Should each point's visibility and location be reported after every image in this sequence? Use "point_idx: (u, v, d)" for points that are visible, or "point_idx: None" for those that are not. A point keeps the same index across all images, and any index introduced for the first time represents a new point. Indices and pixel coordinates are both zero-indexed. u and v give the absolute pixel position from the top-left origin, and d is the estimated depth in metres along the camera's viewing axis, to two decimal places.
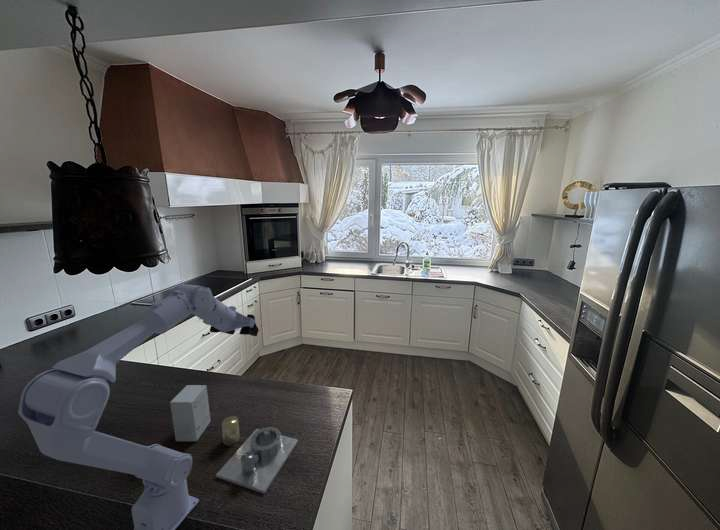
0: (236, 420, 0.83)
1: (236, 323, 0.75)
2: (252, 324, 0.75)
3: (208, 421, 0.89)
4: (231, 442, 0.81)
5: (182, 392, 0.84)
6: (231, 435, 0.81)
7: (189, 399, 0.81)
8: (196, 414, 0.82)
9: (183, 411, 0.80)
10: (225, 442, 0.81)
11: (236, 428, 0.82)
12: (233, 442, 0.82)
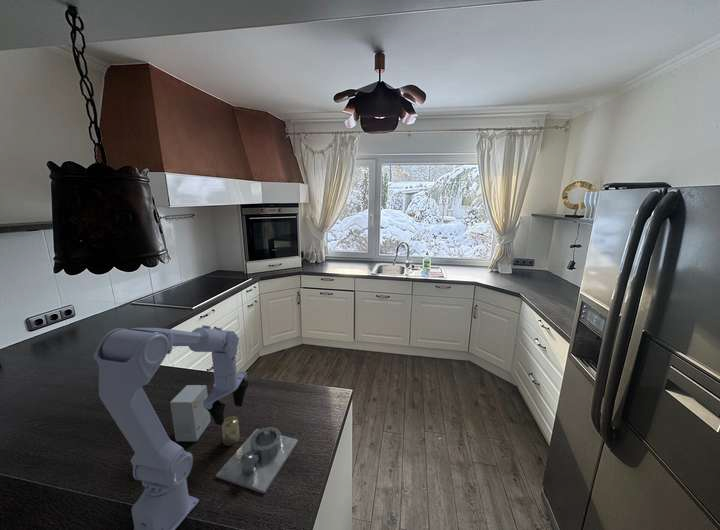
0: (236, 420, 0.83)
1: None
2: None
3: (208, 421, 0.89)
4: (231, 442, 0.81)
5: (182, 392, 0.84)
6: (231, 435, 0.81)
7: (189, 399, 0.81)
8: (196, 414, 0.82)
9: (183, 411, 0.80)
10: (225, 442, 0.81)
11: (236, 428, 0.82)
12: (233, 442, 0.82)
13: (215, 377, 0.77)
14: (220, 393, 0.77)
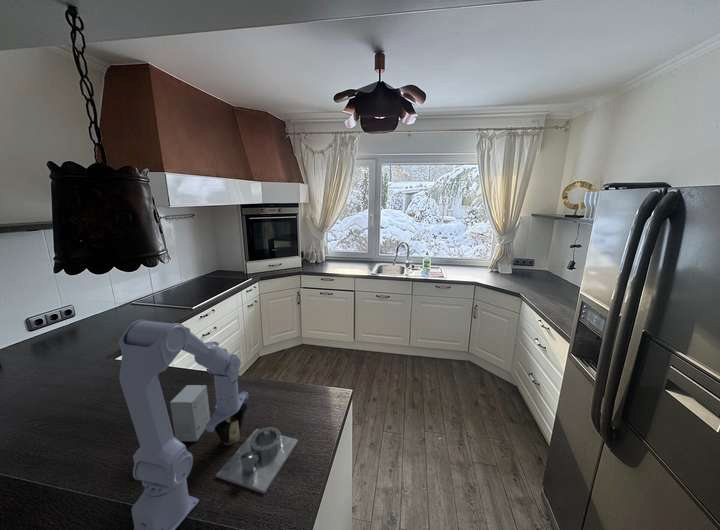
0: (236, 420, 0.83)
1: None
2: None
3: (208, 421, 0.89)
4: (231, 442, 0.81)
5: (182, 392, 0.84)
6: (231, 435, 0.81)
7: (189, 399, 0.81)
8: (196, 414, 0.82)
9: (183, 411, 0.80)
10: None
11: (236, 428, 0.82)
12: (233, 442, 0.82)
13: (217, 400, 0.78)
14: (222, 415, 0.78)
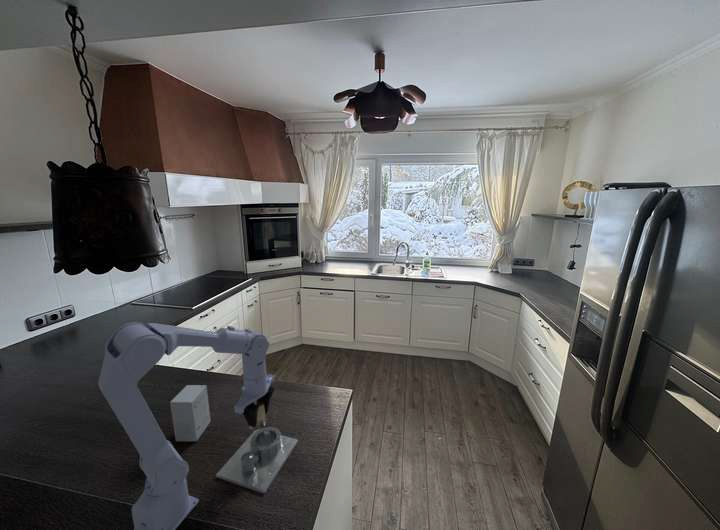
0: (262, 404, 0.78)
1: None
2: None
3: (208, 421, 0.89)
4: (258, 427, 0.77)
5: (182, 392, 0.84)
6: (257, 419, 0.77)
7: (189, 399, 0.81)
8: (196, 414, 0.82)
9: (183, 411, 0.80)
10: (251, 427, 0.77)
11: (262, 412, 0.78)
12: (260, 427, 0.77)
13: (245, 380, 0.74)
14: (250, 397, 0.74)
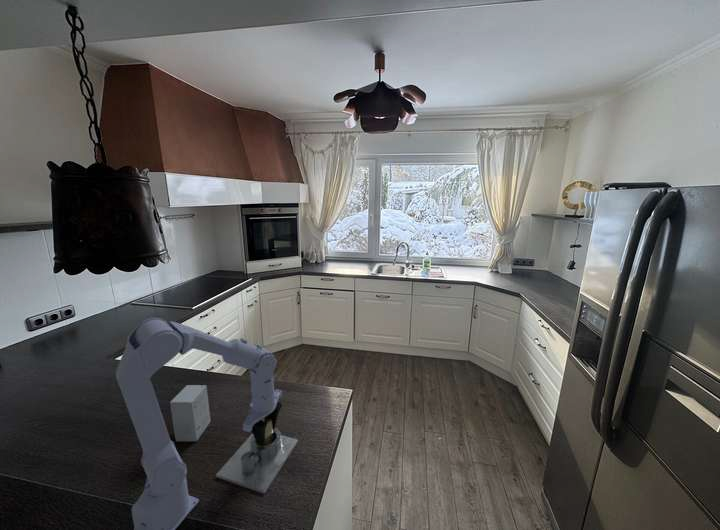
0: (270, 420, 0.79)
1: None
2: None
3: (208, 421, 0.89)
4: (266, 443, 0.77)
5: (182, 392, 0.84)
6: (265, 435, 0.77)
7: (189, 399, 0.81)
8: (196, 414, 0.82)
9: (183, 411, 0.80)
10: (259, 443, 0.77)
11: (270, 428, 0.78)
12: (268, 443, 0.78)
13: (253, 398, 0.74)
14: (259, 414, 0.74)
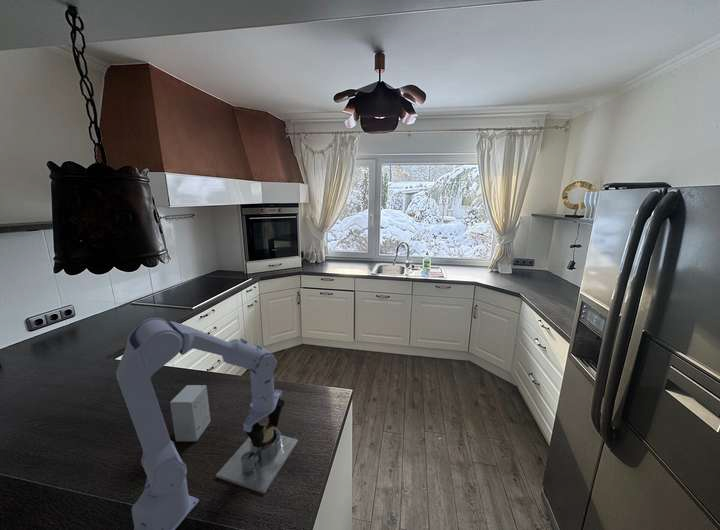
0: (271, 427, 0.79)
1: None
2: None
3: (208, 421, 0.89)
4: None
5: (182, 392, 0.84)
6: (266, 442, 0.77)
7: (189, 399, 0.81)
8: (196, 414, 0.82)
9: (183, 411, 0.80)
10: None
11: (271, 435, 0.78)
12: None
13: (253, 398, 0.74)
14: (259, 414, 0.74)
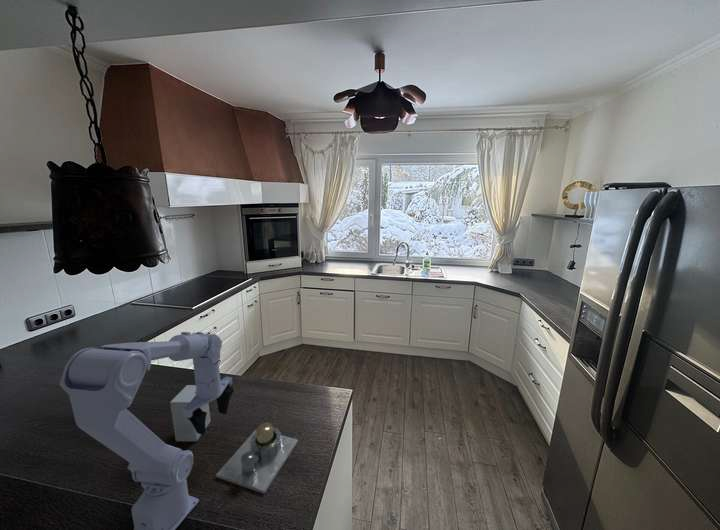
0: (270, 427, 0.79)
1: None
2: None
3: (208, 421, 0.89)
4: None
5: (182, 392, 0.84)
6: (266, 443, 0.77)
7: (189, 399, 0.81)
8: None
9: None
10: None
11: (271, 436, 0.78)
12: None
13: (196, 383, 0.72)
14: (202, 400, 0.72)
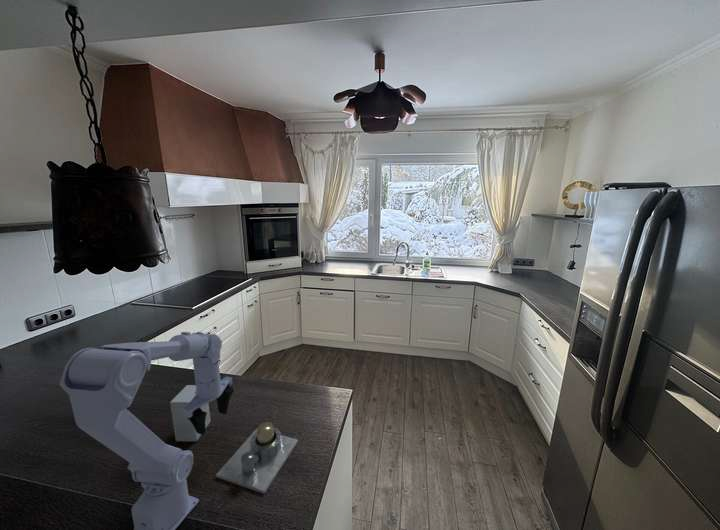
0: (271, 427, 0.79)
1: None
2: None
3: (208, 421, 0.89)
4: None
5: (182, 392, 0.84)
6: (266, 442, 0.77)
7: (189, 399, 0.81)
8: None
9: None
10: None
11: (271, 436, 0.78)
12: None
13: (196, 383, 0.72)
14: (202, 400, 0.72)
